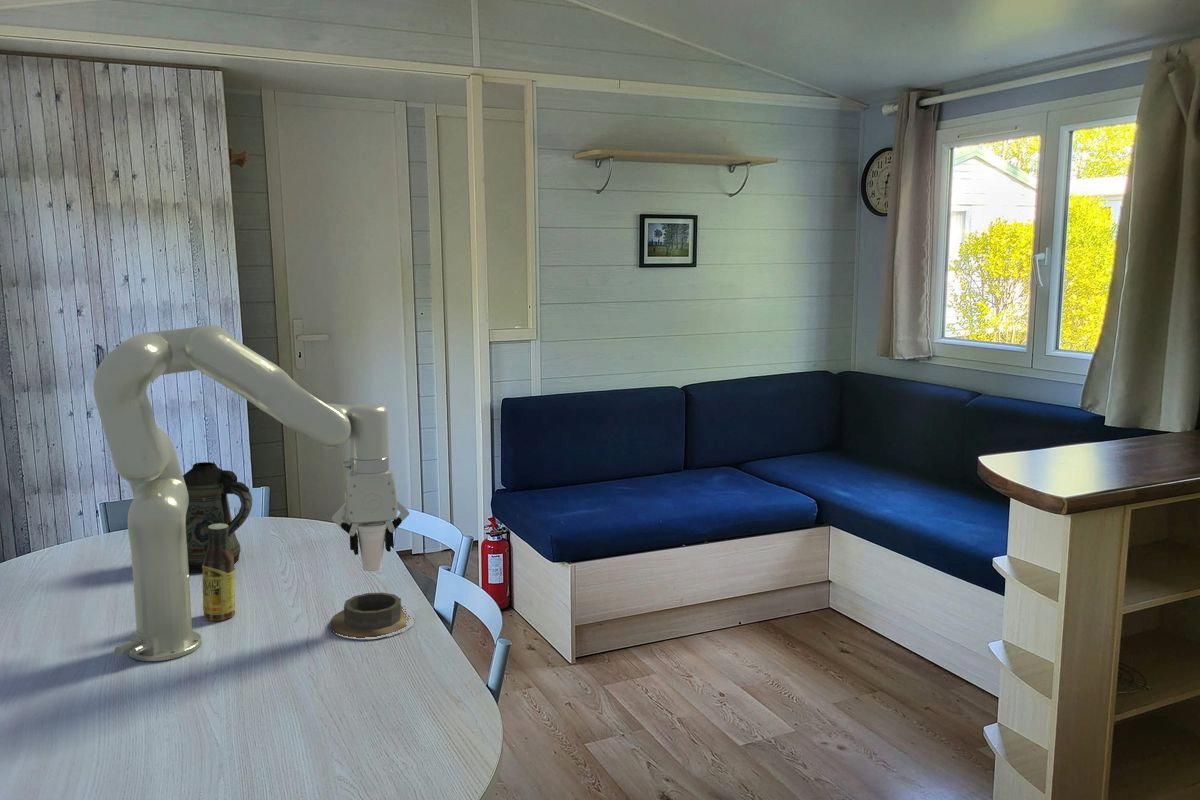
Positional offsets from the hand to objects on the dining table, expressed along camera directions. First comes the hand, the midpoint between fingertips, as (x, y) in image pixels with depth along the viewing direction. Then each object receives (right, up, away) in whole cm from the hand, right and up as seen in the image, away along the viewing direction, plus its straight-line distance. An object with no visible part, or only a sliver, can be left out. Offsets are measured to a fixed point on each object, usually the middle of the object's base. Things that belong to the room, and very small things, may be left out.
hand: (372, 550), depth 183 cm
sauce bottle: (-33, -15, +4) cm, 36 cm away
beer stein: (-49, -10, +38) cm, 63 cm away
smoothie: (0, -4, +1) cm, 4 cm away
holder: (0, -15, +2) cm, 16 cm away
